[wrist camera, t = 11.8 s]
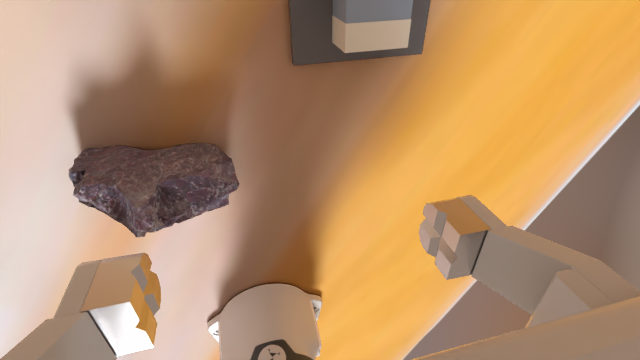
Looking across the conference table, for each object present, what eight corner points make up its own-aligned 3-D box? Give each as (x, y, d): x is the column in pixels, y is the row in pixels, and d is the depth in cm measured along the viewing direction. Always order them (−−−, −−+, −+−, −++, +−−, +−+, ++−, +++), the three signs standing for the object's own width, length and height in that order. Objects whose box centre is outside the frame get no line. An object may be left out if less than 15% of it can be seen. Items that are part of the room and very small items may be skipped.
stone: (245, 201, 30) (36, 200, 24) (238, 248, 33) (54, 256, 28) (236, 140, 37) (76, 128, 32) (231, 183, 41) (86, 179, 36)
